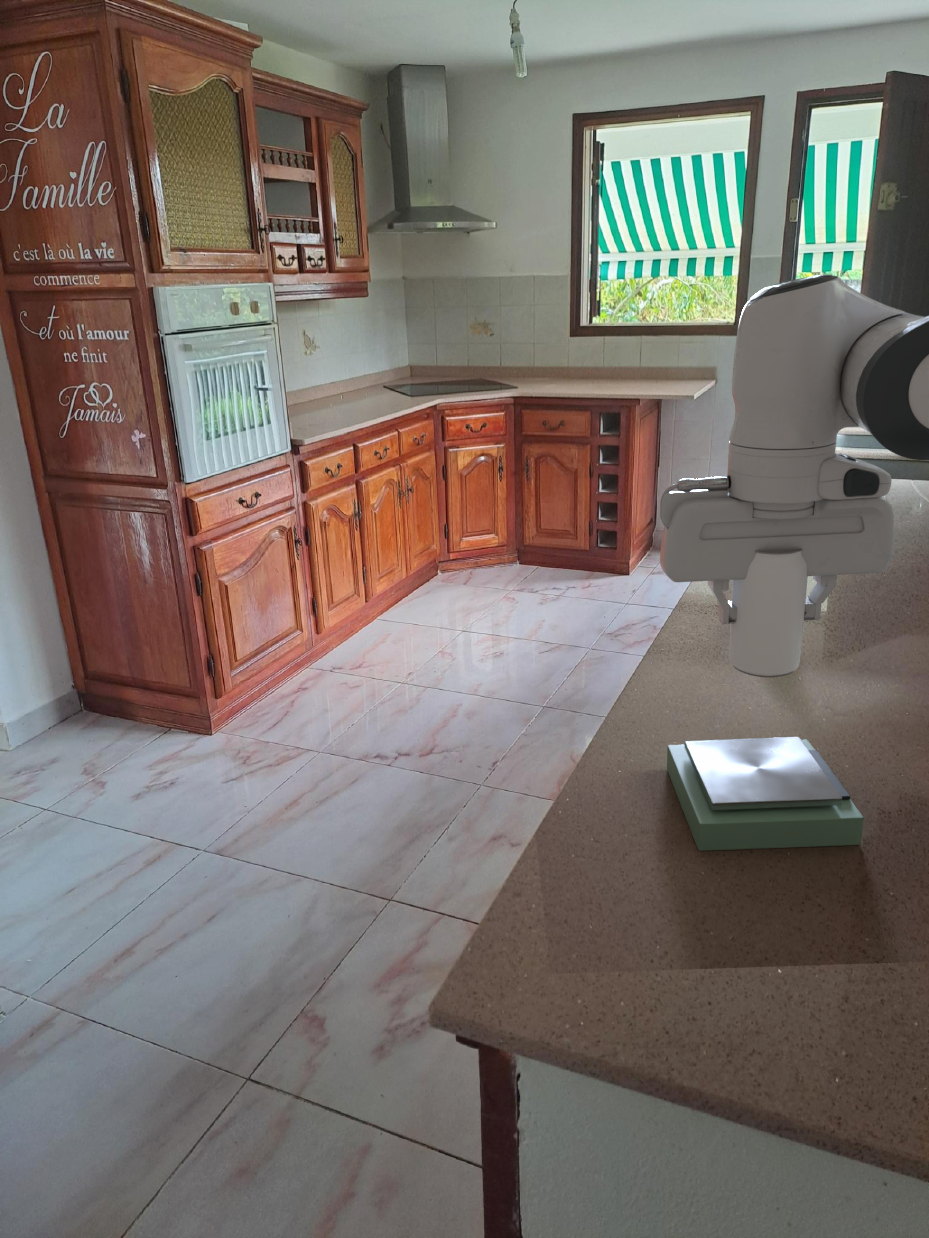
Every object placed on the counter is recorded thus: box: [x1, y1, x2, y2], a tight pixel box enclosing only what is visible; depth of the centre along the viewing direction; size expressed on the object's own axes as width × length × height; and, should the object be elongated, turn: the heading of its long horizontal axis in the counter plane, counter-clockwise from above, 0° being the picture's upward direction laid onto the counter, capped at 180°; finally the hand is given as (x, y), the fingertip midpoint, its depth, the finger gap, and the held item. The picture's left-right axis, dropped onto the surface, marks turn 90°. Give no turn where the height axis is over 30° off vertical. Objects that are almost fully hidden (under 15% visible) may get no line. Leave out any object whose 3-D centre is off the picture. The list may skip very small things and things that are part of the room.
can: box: [728, 549, 809, 678], centre depth 82 cm, size 6×6×12 cm
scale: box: [666, 739, 864, 852], centre depth 88 cm, size 15×15×3 cm
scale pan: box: [684, 736, 842, 810], centre depth 88 cm, size 12×12×1 cm
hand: (768, 620), depth 82 cm, fingers closed on can, 6 cm apart
